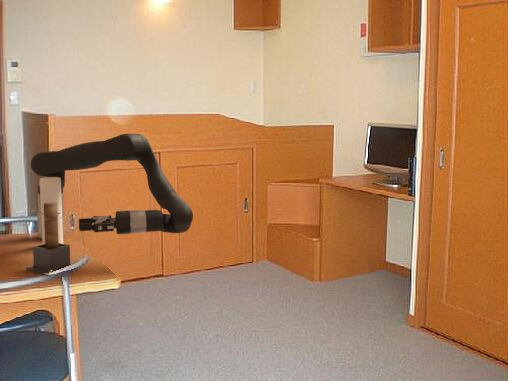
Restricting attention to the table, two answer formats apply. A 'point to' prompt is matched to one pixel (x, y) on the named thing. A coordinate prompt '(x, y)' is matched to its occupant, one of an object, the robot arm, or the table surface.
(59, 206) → the cream tall block
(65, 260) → the dark grey open box
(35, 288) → the table surface
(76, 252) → the table surface
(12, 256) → the table surface
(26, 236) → the table surface
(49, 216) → the walnut rail
